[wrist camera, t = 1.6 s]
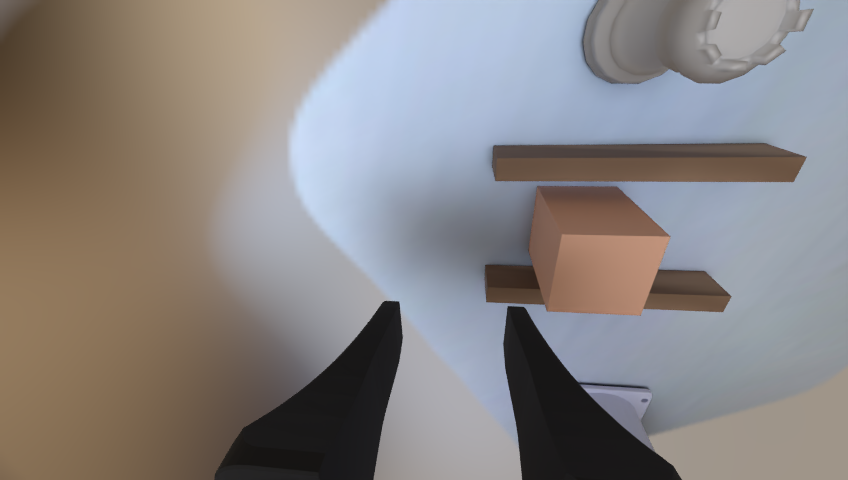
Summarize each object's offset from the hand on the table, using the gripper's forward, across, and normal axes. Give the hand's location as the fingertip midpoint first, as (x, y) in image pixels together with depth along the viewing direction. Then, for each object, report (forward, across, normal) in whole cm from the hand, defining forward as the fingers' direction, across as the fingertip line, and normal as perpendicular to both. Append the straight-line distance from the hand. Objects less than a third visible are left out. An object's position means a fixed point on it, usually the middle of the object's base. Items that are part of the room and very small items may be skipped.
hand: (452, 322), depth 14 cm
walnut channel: (+9, -9, 0) cm, 13 cm away
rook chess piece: (+10, -8, -10) cm, 16 cm away
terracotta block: (+10, -7, 0) cm, 12 cm away
